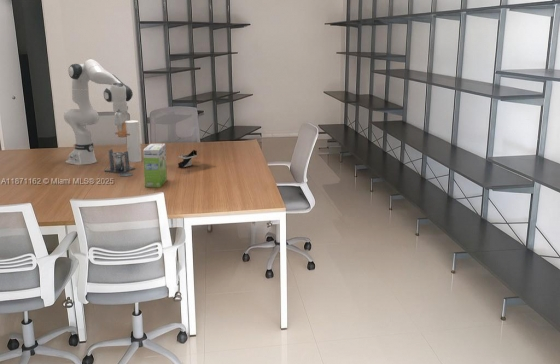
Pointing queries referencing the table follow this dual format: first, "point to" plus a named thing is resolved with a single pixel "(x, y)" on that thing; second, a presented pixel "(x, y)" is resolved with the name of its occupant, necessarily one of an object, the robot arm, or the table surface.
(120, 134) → the tan rounded piece
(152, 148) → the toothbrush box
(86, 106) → the robot arm
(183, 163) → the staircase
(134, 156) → the cylinder container
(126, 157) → the grey ridged piece
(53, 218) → the table surface
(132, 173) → the grey rounded piece
